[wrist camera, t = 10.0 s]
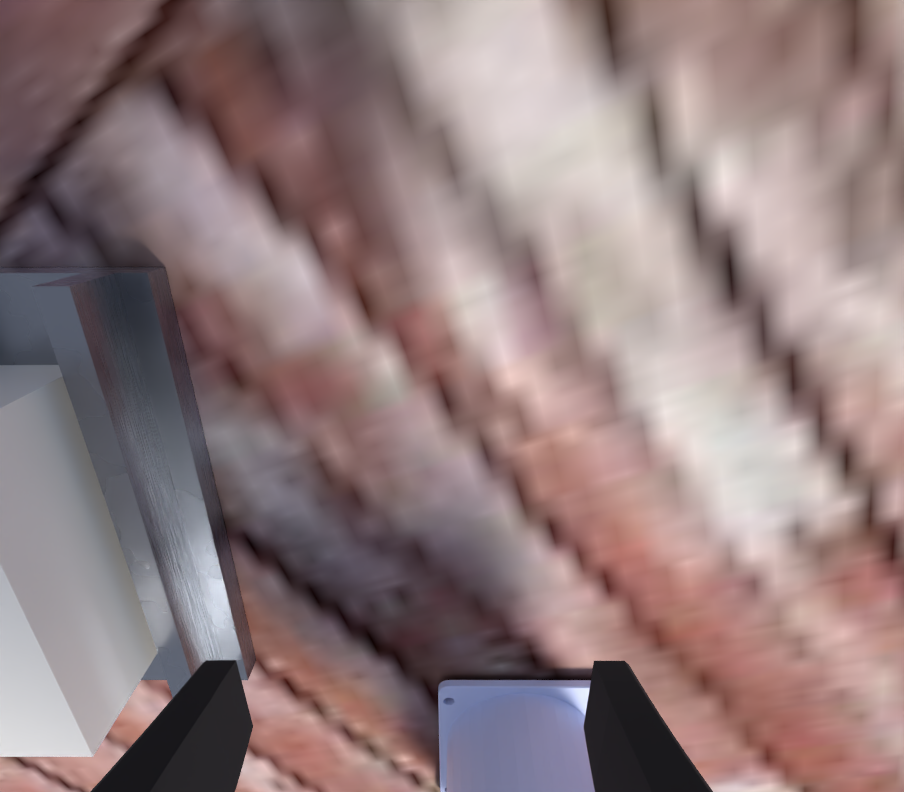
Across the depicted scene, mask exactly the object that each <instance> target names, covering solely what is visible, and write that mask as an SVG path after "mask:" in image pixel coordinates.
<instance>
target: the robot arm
mask: <svg viewBox="0 0 904 792" xmlns="http://www.w3.org/2000/svg"><path fill="white" fill-rule="evenodd" d="M438 710H439V758H440V792H713V791H712V790H711V788H710V787H709V786H708V784H707V783H706V781H705V780H704V778H703V777H702V776H701V774H700V773H699V771H698V770H697V769H696V767H695V766H694V764H693V763H692V762H691V760H690V759H689V757H688V756H687V755H686V753H685V752H684V750H683V749H682V747H681V746H680V744H679V743H678V741H677V740H676V738H675V737H674V735H673V734H672V732H671V731H670V729H669V728H668V726H667V725H666V723H665V722H664V720H663V719H662V717H661V716H660V714H659V713H658V711H657V709H656V708H655V706H654V705H653V703H652V702H651V700H650V698H649V697H648V695H647V694H646V692H645V691H644V689H643V687H642V686H641V684H640V682H639V681H638V679H637V677H636V676H635V674H634V673H633V671H632V669H631V667H630V666H629V665H628V664H627V663H626V662H625V661H594V665H593V671H592V677H591V680H445V681H443V682H441V683H440V684H439V687H438ZM252 728H253V724H252V721H251V717H250V713H249V709H248V705H247V701H246V697H245V693H244V689H243V685H242V681H241V677H240V673H239V670H238V666H237V662H236V660H206V661H205V662H204V663H202V664H201V666H200V667H199V668H198V669H197V670H196V671H195V673H194V674H193V675H192V676H191V677H190V679H189V680H188V681H187V682H186V683H185V684H184V686H183V687H182V688H181V689H180V690H179V692H178V693H177V694H176V695H175V696H174V698H173V699H172V700H171V701H170V702H169V703H168V705H167V706H166V707H165V708H164V709H163V710H162V712H161V713H160V714H159V715H158V716H157V717H156V719H155V720H154V721H153V722H152V723H151V724H150V726H149V727H148V728H147V729H146V730H145V731H144V733H143V734H142V735H141V736H140V737H139V738H138V739H137V741H136V742H135V743H134V744H133V745H132V746H131V747H130V748H129V749H128V751H127V752H126V753H125V754H124V755H123V756H122V757H121V758H120V760H119V761H118V762H117V763H116V764H115V765H114V766H113V767H112V769H111V770H110V771H109V772H108V773H107V774H106V775H105V776H104V778H103V779H102V780H101V781H100V782H99V783H98V784H97V785H96V786H95V787H94V788H93V790H92V791H91V792H235V789H236V786H237V783H238V779H239V776H240V772H241V769H242V765H243V762H244V758H245V754H246V751H247V747H248V743H249V739H250V735H251V732H252Z"/></svg>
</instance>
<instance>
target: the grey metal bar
mask: <svg viewBox="0 0 904 792" xmlns="http://www.w3.org/2000/svg"><path fill="white" fill-rule="evenodd" d="M156 654H157V650H156V647H155V644H154V641H153V638H152V635H151V632H150V629H149V627H148V624H147V621H146V618H145V615H144V612H143V609H142V606H141V603H140V600H139V597H138V595H137V592H136V589H135V586H134V583H133V580H132V577H131V574H130V571H129V568H128V565H127V562H126V560H125V557H124V554H123V551H122V548H121V545H120V542H119V539H118V536H117V533H116V530H115V528H114V525H113V522H112V519H111V516H110V513H109V510H108V507H107V504H106V501H105V498H104V496H103V493H102V490H101V487H100V484H99V481H98V478H97V475H96V472H95V469H94V466H93V464H92V461H91V458H90V455H89V452H88V449H87V446H86V443H85V440H84V437H83V434H82V432H81V429H80V426H79V423H78V420H77V417H76V414H75V411H74V408H73V405H72V402H71V399H70V397H69V394H68V391H67V388H66V385H65V382H64V379H63V376H62V373H61V370H60V367H59V365H0V757H93V756H94V754H95V753H96V751H97V749H98V748H99V746H100V745H101V743H102V741H103V740H104V738H105V737H106V735H107V733H108V732H109V730H110V729H111V727H112V725H113V724H114V722H115V720H116V719H117V717H118V716H119V714H120V712H121V711H122V709H123V708H124V706H125V704H126V703H127V701H128V700H129V698H130V696H131V695H132V693H133V692H134V690H135V688H136V687H137V685H138V683H139V682H140V680H141V679H142V677H143V675H144V674H145V672H146V671H147V669H148V667H149V666H150V664H151V663H152V661H153V659H154V658H155V656H156Z"/></svg>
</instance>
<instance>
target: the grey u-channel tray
mask: <svg viewBox="0 0 904 792" xmlns="http://www.w3.org/2000/svg"><path fill="white" fill-rule="evenodd" d="M0 365H59V367H60V370H61V373H62V376H63V379H64V382H65V385H66V388H67V391H68V394H69V397H70V399H71V402H72V405H73V408H74V411H75V414H76V417H77V420H78V423H79V426H80V429H81V432H82V434H83V437H84V440H85V443H86V446H87V449H88V452H89V455H90V458H91V461H92V464H93V466H94V469H95V472H96V475H97V478H98V481H99V484H100V487H101V490H102V493H103V496H104V498H105V501H106V504H107V507H108V510H109V513H110V516H111V519H112V522H113V525H114V528H115V530H116V533H117V536H118V539H119V542H120V545H121V548H122V551H123V554H124V557H125V560H126V562H127V565H128V568H129V571H130V574H131V577H132V580H133V583H134V586H135V589H136V592H137V595H138V597H139V600H140V603H141V606H142V609H143V612H144V615H145V618H146V621H147V624H148V627H149V629H150V632H151V635H152V638H153V641H154V644H155V647H156V650H157V654H156V656H155V658H154V659H153V661H152V663H151V664H150V666H149V667H148V669H147V671H146V672H145V674H144V675H143V677H142V679H141V680H167V682H168V685H169V688H170V691H171V693H172V696H173V698H174V696H175V695H176V694H177V693H178V692H179V690H180V689H181V688H182V687H183V686H184V684H185V683H186V682H187V681H188V680H189V679H190V677H191V676H192V675H193V674H194V673H195V671H196V670H197V669H198V668H199V667H200V666H201V664H202V663H204V662H205V661H206V660H236V662H237V666H238V670H239V673H240V677H241V680H248V679H249V676H250V674H251V671H252V669H253V666H254V664H255V661H256V658H255V654H254V649H253V645H252V641H251V636H250V632H249V628H248V623H247V619H246V615H245V610H244V606H243V602H242V597H241V593H240V589H239V585H238V580H237V576H236V572H235V567H234V563H233V559H232V554H231V550H230V546H229V541H228V537H227V533H226V528H225V524H224V520H223V516H222V511H221V507H220V503H219V498H218V494H217V490H216V485H215V481H214V477H213V472H212V468H211V464H210V459H209V455H208V451H207V447H206V442H205V438H204V434H203V429H202V425H201V421H200V416H199V412H198V408H197V403H196V399H195V395H194V391H193V386H192V382H191V378H190V373H189V369H188V365H187V360H186V356H185V352H184V347H183V343H182V339H181V334H180V330H179V326H178V322H177V317H176V313H175V309H174V304H173V300H172V296H171V291H170V287H169V283H168V278H167V274H166V270H165V267H60V268H0Z"/></svg>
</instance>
